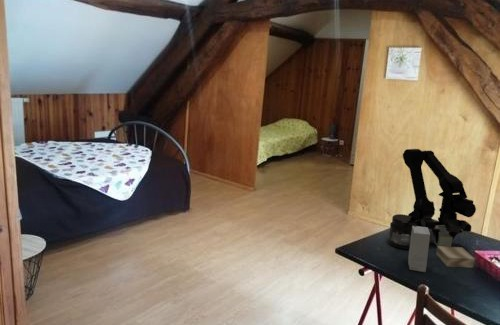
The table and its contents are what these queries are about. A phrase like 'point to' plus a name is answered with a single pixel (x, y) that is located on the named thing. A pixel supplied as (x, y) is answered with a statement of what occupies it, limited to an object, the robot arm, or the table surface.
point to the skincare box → (419, 248)
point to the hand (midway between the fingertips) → (442, 243)
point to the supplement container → (401, 231)
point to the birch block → (455, 256)
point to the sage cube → (444, 240)
